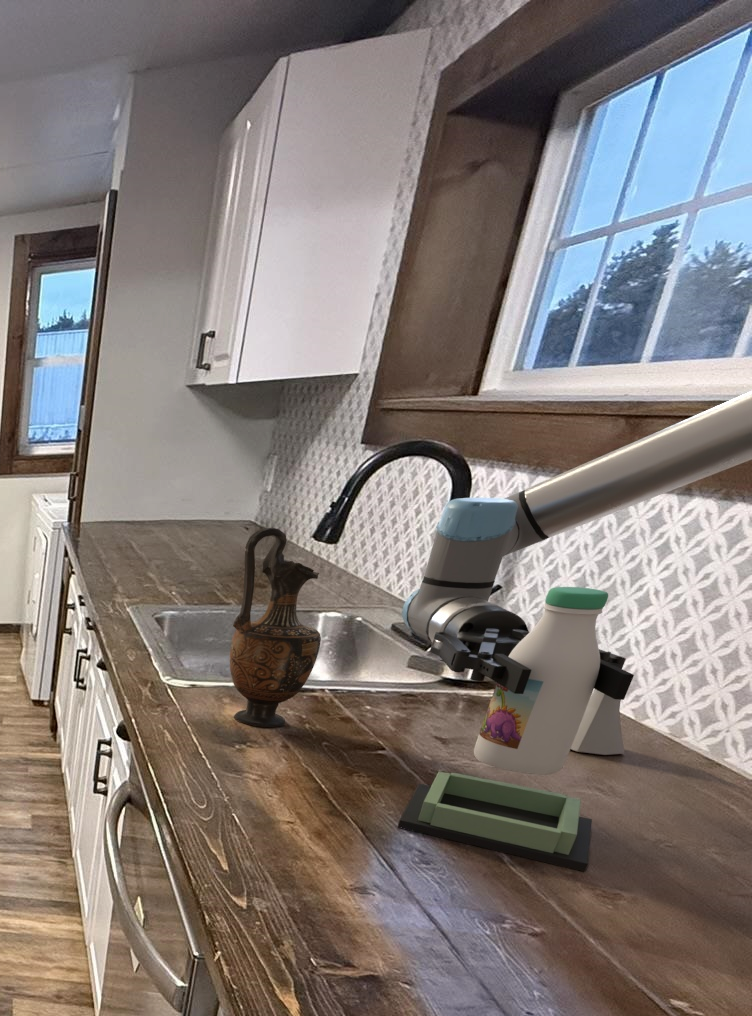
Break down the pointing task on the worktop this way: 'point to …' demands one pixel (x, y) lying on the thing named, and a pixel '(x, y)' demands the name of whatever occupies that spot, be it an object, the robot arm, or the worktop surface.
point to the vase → (272, 637)
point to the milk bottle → (546, 687)
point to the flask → (600, 727)
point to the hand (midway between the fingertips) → (572, 684)
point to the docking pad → (502, 818)
